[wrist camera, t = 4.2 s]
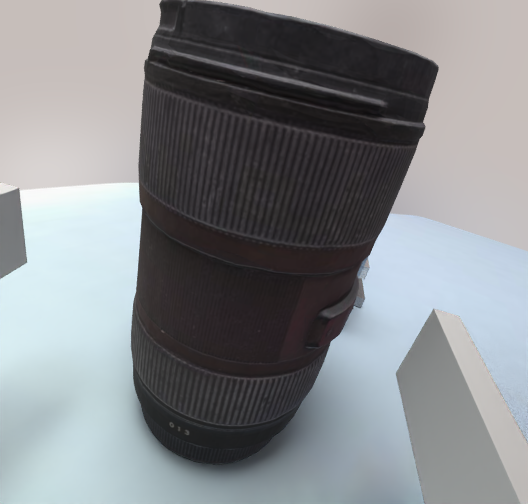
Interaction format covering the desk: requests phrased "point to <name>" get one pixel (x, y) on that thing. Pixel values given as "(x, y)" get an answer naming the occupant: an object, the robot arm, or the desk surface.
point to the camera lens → (258, 211)
